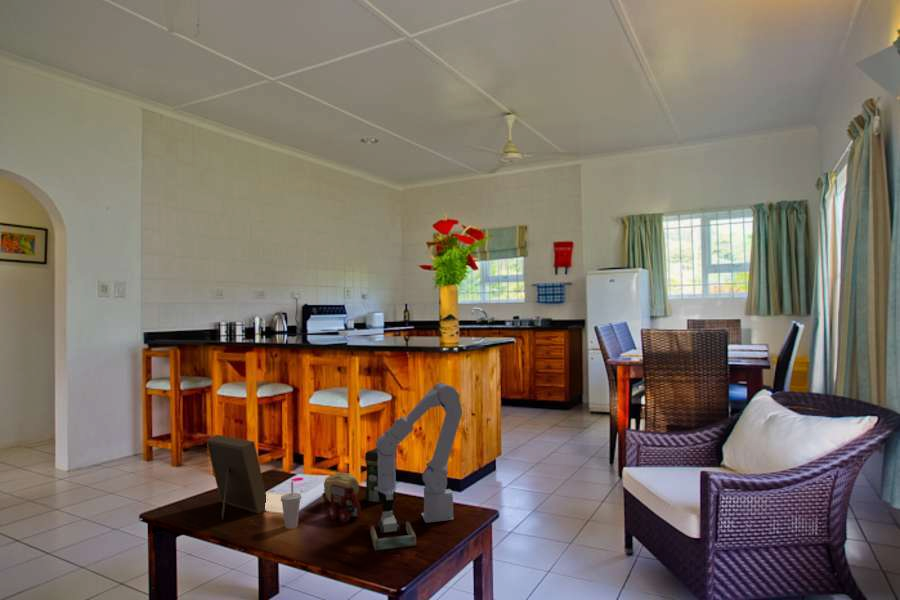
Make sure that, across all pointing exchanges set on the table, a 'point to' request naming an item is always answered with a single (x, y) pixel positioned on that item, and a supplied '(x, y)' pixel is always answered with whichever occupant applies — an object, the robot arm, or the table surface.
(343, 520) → the red toy race car
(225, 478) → the photo frame
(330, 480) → the sculpture
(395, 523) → the grey knobbed block
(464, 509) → the table surface
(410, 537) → the bay
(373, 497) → the coffee jar
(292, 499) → the smoothie
